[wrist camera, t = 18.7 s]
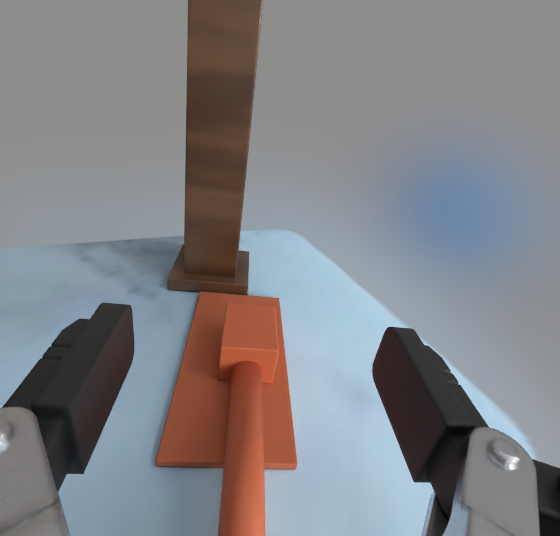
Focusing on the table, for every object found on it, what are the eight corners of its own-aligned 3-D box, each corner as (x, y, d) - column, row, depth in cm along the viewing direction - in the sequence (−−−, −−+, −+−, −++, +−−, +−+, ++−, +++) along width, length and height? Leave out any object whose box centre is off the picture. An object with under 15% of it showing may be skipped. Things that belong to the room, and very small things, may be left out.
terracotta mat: (295, 469, 15) (297, 464, 15) (155, 466, 14) (155, 460, 14) (278, 302, 26) (279, 298, 26) (200, 295, 26) (200, 291, 25)
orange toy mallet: (292, 730, 9) (309, 705, 7) (171, 739, 8) (170, 714, 7) (270, 336, 22) (275, 306, 21) (223, 332, 22) (226, 301, 20)
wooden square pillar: (246, 298, 26) (340, -478, 11) (166, 291, 25) (156, -550, 11) (248, 259, 32) (312, -292, 17) (182, 253, 31) (191, -330, 16)
